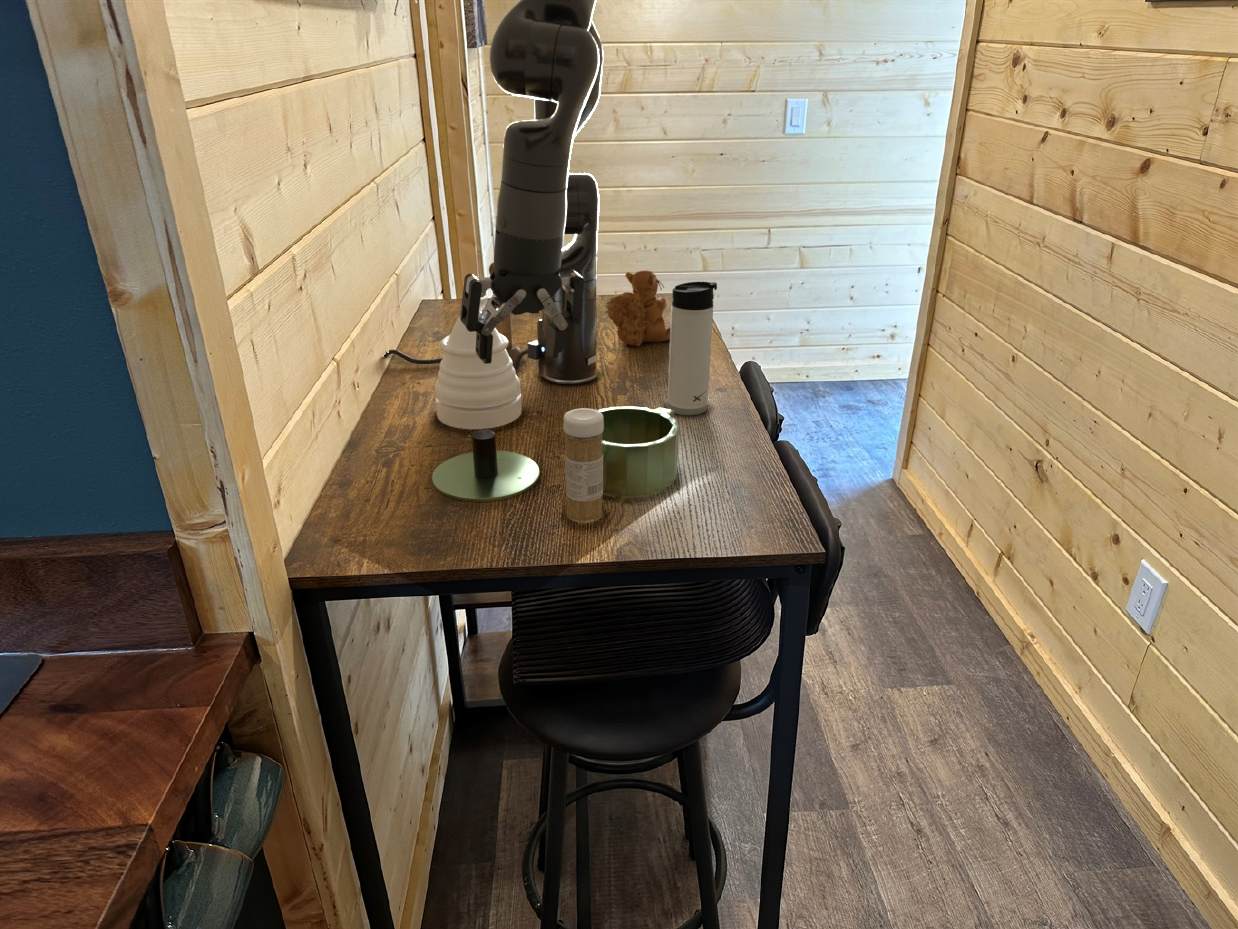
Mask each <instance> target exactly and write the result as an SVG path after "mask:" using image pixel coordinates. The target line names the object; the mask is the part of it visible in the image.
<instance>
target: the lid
mask: <svg viewBox="0 0 1238 929" xmlns="http://www.w3.org/2000/svg"><path fill="white" fill-rule="evenodd" d="M471 445H472V451H471V452H467V453H466V452H465V453H462V454H459V455H456V456H453V457H451V458H448V459H447V460H444V461H443V462H441V463H440V464H439V465H437V467H436V468H435V469H434V470H433V472H432V475H431V480H432V481H431V482H432V485H433V487H434V489H435V490H436V491H437V492H438V493H439V494H441V495H442V496H445V497H447V498H450V499H452V500H457V501H461V502H462V501H463V502H470V503H489V502H491V503H492V502H498V501H503V500H508V499H511V498H515V497H517V496H520V495H522V494H524V493H526V492H528V491H530V490H531V489H532V488H533V487H535V486H536V484H537V483H538V481H539V479H540V477H541V476H540V475H541V474H540V466H538V464H537V463H536V462H535V461H534V460H532V458H530V457H528V456H526V455H524V454H519V453H517V452H513V451H507V450H497V436H496V433H495V431H493V430H489V429H478V430H475V431H474V432H472V434H471Z"/></svg>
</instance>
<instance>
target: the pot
mask: <svg viewBox="0 0 1238 929" xmlns="http://www.w3.org/2000/svg"><path fill="white" fill-rule="evenodd" d="M596 410H597V411H599V412H601V413H602V415H603V419H604V430H603V434H602V454H603V495H604V494H605V495H609V496H617V497H624V498H625V497H626V498H627V497H628V498H629V497H644V496H648V495H652V494H656V493H660V492H662V491H665V490H666V489H667V488H669V487H670V486H672V485H674V483H675V481H676V479H677V476H678V463H679V462H678V461H679V442H680V440H679V439H680V426H679V424H678V422H677V420H676V419H675V413H674V411H672V410H669V409H668V408H665V407H661V406H659V407H657V408H655V409H652V408H649V407H640V406H630V405H628V406H611V407H605V408H602V409H601V408H600V409H596Z"/></svg>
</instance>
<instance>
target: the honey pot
mask: <svg viewBox="0 0 1238 929" xmlns="http://www.w3.org/2000/svg"><path fill="white" fill-rule="evenodd" d="M487 302H488V296H487V295H486V294H485V296H484V297H482V298H481V299H480V307H479V316H480V314H481V313H482V312H483V310H484V309H485V305H486V303H487ZM479 316H478V317H479ZM491 334H492V335H493V346H492V361H491V363H489V364H484V362H483V361H482V360H481V359H480V358H479V356H478V355H477V353H476V351H475V349H476V332H475V331H474V332H470V331H468V330H467V328H466V327H465V325H464V324H463V323H462V322H461V320H460V316H459V317H458V318H457V320H456V322H455V324H454V326H453V328H452V330H451V332H450V334H449V335H447V336H445V337H443V338H442V339H441V340H440V343H439V347H440V350H442V351H443V356H442V358H443V359H442V361H441V363H439V370H438V372H437V379H436V381H435V383H434V391H435V392H434V396H435V398H434V399H435V409H436V410H435V411H436V416H437V419H438V421H440V422H441V423H442V424H444V425H446V426H449V427H451V428H457V429H463V430H487V429H494V428H498V427H503V426H505V425H507V424H509V423H512V422H514V421H516V420H517V419H518V418H519V417H520V416H522V410H523V409H522V393H521V391H522V389H521V380H520V378H519V376H517V374H516V372H517V371H516V369H514V367H513V366H512V364H513V362H512V360H511V358H510V357H509V355H508V353H507V350H506V348H507V346H508V340H507V338H506V337H505V336H503V335H501V334H498V332H497V330H496V329H494V330H493V331H492V333H491Z"/></svg>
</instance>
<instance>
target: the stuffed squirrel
mask: <svg viewBox="0 0 1238 929" xmlns="http://www.w3.org/2000/svg"><path fill="white" fill-rule="evenodd" d="M624 277H625V278H626V279H627V281H628V282H629V284H631V287H632V292H630V291H626V292H623V293H621V294H618V295H616V296H613V297H611V298H609V299H610V300H609V301H607V302H606V304H605V305H604V307H605V308H606V309H607V310H606V311H605V312H604V314H607V315H608V318H609V319H610V320H611V321H612V323H613V324H614V325H615V327H616V328H617V331H616V333H617V337H618V339H619V341H620V342H623V343H624V344H625V345H629V346H634V347H639V346H641V344H643V343H659V342H666V341H668V340H669V341H670V329H671V326H669V327H666V324H665V320H664V317H663V314H664V311H665V309H666V308H667V300H666V298H664V297H659V298H657V297H656V296H657V293H658V288H659V289H660V291H662V288H663V289H665V286H664V284H663V283H662V282H661V281H660V280H658V278H657V275H656V274H655V273H654V272H653V271H651V270H650V269H641V270H637V271H635V272H634V273H631V272H626V273H625V276H624Z"/></svg>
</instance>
